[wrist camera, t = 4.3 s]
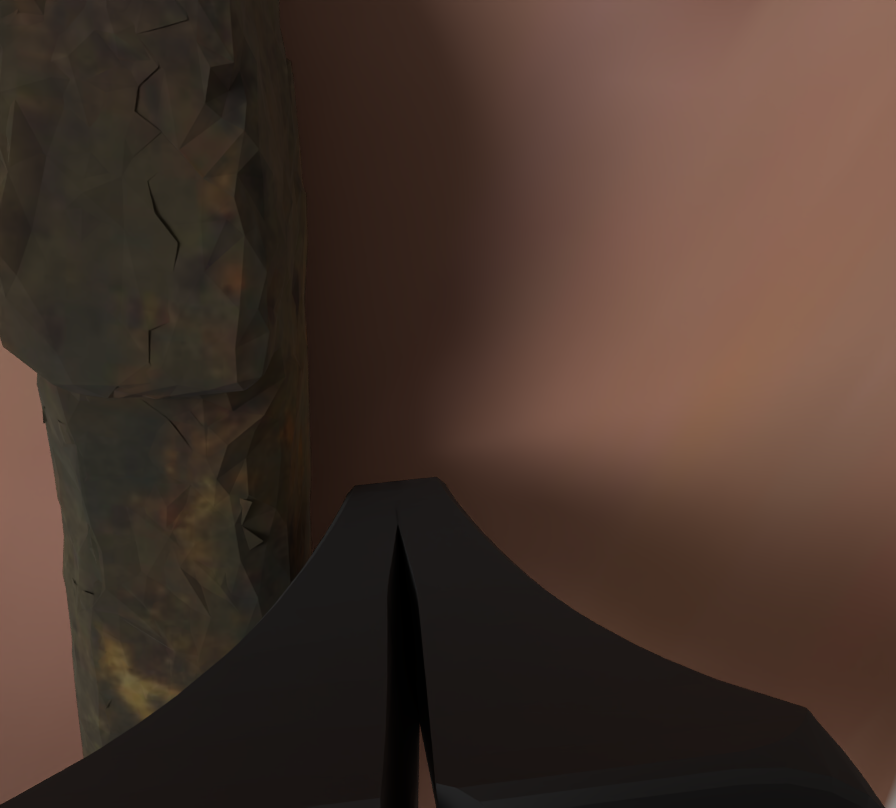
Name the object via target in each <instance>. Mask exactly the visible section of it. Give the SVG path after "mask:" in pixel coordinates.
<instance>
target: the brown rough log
mask: <svg viewBox="0 0 896 808" xmlns="http://www.w3.org/2000/svg"><path fill="white" fill-rule="evenodd" d="M307 245H308V240H307V200H306V193H305V190H304V188H303V181H302V167H301V153H300V141H299V131H298V120H297V110H296V99H295V89H294V80H293V73H292V67H291V62H290V61H289V60H288V59H287V58H286V56H285V49H284V44H283V39H282V34H281V30H280V18H279V0H0V338H1V341H2V345H3V347H4V348H6V349H7V350H8V351H10V352H11V353H12V354H13V355H15V356H16V357H17V358H19V359H20V360H21V361H23V362H24V363H25V364H26V365H28V366H29V367H30V368H32V369H33V370H34V371H36V372H37V387H38V391H39V396H40V400H41V404H42V409H43V423H46V429H47V435H48V440H49V446H50V451H51V457H52V463H53V469H54V476H55V483H56V490H57V497H58V500H59V503H60V505H61V513H62V522H63V531H64V550H63V577H64V582H65V586H66V593H67V601H68V609H69V618H70V626H71V635H72V657H73V668H74V679H75V689H76V698H77V707H78V716H79V724H80V732H81V740H82V748H83V756H84V758H85V757H87V756H88V755H90V754H92V753H93V752H95V751H97V750H98V749H100V748H101V747H103V746H105V745H106V744H108V743H109V742H111V741H112V740H114V739H115V738H117V737H118V736H120V735H121V734H123V733H124V732H126V731H127V730H129V729H130V728H132V727H133V726H135V725H136V724H138V723H139V722H141V721H142V720H144V719H145V718H146V717H148V716H149V715H151V714H152V713H153V712H155V711H156V710H158V709H159V708H160V707H162V706H163V705H165V704H166V703H167V702H169V701H170V700H171V699H173V698H174V697H175V696H177V695H178V694H179V693H180V692H182V691H183V690H184V689H185V688H186V687H188V686H189V685H190V684H191V683H192V682H194V681H195V680H196V679H197V678H198V677H200V676H201V675H202V674H203V673H204V672H206V671H207V670H208V669H209V668H210V667H212V666H213V665H214V664H215V663H216V662H218V661H219V660H220V659H221V658H223V657H224V656H225V655H226V654H227V653H228V652H229V651H230V650H231V649H233V648H234V647H235V646H236V645H237V644H238V643H239V642H240V641H241V640H242V639H243V638H244V637H245V636H246V635H247V634H248V633H249V632H250V631H251V630H252V629H253V628H254V627H255V626H256V624H257V623H258V622H259V621H260V620H261V619H262V618H263V617H264V616H265V614H266V613H267V612H268V611H269V610H270V609H271V608H272V606H273V605H274V604H275V603H276V601H277V600H278V599H279V598H280V596H281V595H282V594H283V593H284V591H285V590H286V589H287V588H288V586H289V585H290V584H291V582H292V581H293V580H294V579H295V577H296V576H297V575H298V574H299V572H300V571H301V570H302V568H303V567H304V565H305V564H306V562H307V561H308V559H309V558H310V556H311V555H312V550H311V523H310V492H311V454H310V418H309V388H308V352H307V351H308V346H307V331H306V317H305V304H304V298H305V281H306V263H307Z"/></svg>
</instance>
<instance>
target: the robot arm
mask: <svg viewBox="0 0 896 808" xmlns="http://www.w3.org/2000/svg"><path fill="white" fill-rule="evenodd" d="M420 726H421V731H422V736H423V742H424V747H425V752H426V757H427V762H428V767H429V772H430V777H431V782H432V788H433V793H434V798H435V803H436V808H885V807H884V806H883V804H882V803H881V801H880V800H879V799H878V797H877V796H876V794H875V793H874V791H873V790H872V788H871V787H870V785H869V784H868V783H867V781H866V780H865V778H864V777H863V776H862V774H861V773H860V772H859V770H858V769H857V768H856V767H855V765H854V764H853V763H852V761H851V760H850V759H849V757H848V756H847V755H846V753H845V752H844V751H843V750H842V749H841V747H840V746H839V745H838V744H837V743H836V742H835V741H834V740H833V738H832V737H831V736H830V735H829V734H828V733H827V732H826V730H825V729H824V728H823V727H822V726H821V725H820V724H819V723H818V721H817V720H816V719H815V717H814V716H813V715H812V713H811V712H810V711H809V710H808V709H807V708H805V707H802V706H799V705H796V704H793V703H789V702H786V701H783V700H780V699H777V698H773V697H770V696H767V695H764V694H761V693H758V692H754V691H751V690H748V689H745V688H742V687H739V686H735V685H732V684H729V683H726V682H723V681H720V680H717V679H714V678H712V677H709V676H706V675H704V674H702V673H699V672H697V671H694V670H692V669H689V668H687V667H684V666H682V665H680V664H677V663H675V662H672V661H670V660H667V659H665V658H663V657H661V656H659V655H656V654H654V653H652V652H650V651H648V650H646V649H644V648H641V647H639V646H637V645H635V644H633V643H631V642H629V641H628V640H626V639H624V638H622V637H620V636H618V635H617V634H615V633H613V632H611V631H609V630H607V629H605V628H604V627H602V626H600V625H598V624H596V623H595V622H593V621H591V620H590V619H588V618H586V617H585V616H583V615H581V614H580V613H578V612H576V611H575V610H573V609H572V608H571V607H569V606H568V605H566V604H565V603H563V602H562V601H560V600H559V599H557V598H556V597H555V596H553V595H552V594H550V593H549V592H548V591H546V590H545V589H544V588H542V587H541V586H540V585H539V584H537V583H536V582H535V581H534V580H533V579H531V578H530V577H529V576H528V575H527V574H526V573H525V572H523V571H522V570H521V569H520V568H519V567H518V566H517V565H515V564H514V563H513V562H512V561H511V560H510V559H509V558H508V557H507V556H506V555H505V554H504V553H503V552H502V551H501V550H500V549H499V548H498V547H497V546H496V545H495V544H494V543H493V542H492V541H491V540H490V539H489V538H488V537H487V536H486V535H485V534H484V533H483V532H482V531H481V530H480V529H479V527H478V526H477V525H476V524H475V523H474V522H473V521H472V520H471V518H470V517H469V516H468V515H467V513H466V512H465V511H464V510H463V509H462V507H461V506H460V505H459V504H458V502H457V501H456V500H455V498H454V497H453V495H452V494H451V492H450V491H449V489H448V488H447V486H446V484H445V483H444V482H442V481H441V480H440V479H439V478H437V477H431V478H422V479H412V480H403V481H394V482H384V483H375V484H366V485H356V486H354V487H353V488H352V490H351V491H350V492H349V493H348V494H347V496H346V498H345V500H344V502H343V504H342V506H341V508H340V510H339V512H338V514H337V515H336V517H335V519H334V521H333V522H332V524H331V526H330V527H329V529H328V531H327V532H326V534H325V536H324V537H323V539H322V540H321V542H320V543H319V545H318V546H317V548H316V549H315V551H314V552H313V554H312V555H311V556H310V558H309V559H308V561H307V562H306V564H305V565H304V567H303V568H302V570H301V571H300V572H299V574H298V575H297V576H296V577H295V579H294V580H293V581H292V582H291V584H290V585H289V586H288V588H287V589H286V590H285V591H284V593H283V594H282V595H281V596H280V598H279V599H278V600H277V601H276V603H275V604H274V605H273V606H272V608H271V609H270V610H269V611H268V612H267V613H266V614H265V616H264V617H263V618H262V619H261V620H260V621H259V622H258V623H257V624H256V626H255V627H254V628H253V629H252V630H251V631H250V632H249V633H248V634H247V635H246V636H245V637H244V638H243V639H242V640H241V641H240V642H239V643H238V644H237V645H236V646H235V647H234V648H233V649H231V650H230V651H229V652H228V653H227V654H226V655H225V656H224V657H223V658H221V659H220V660H219V661H218V662H216V663H215V664H214V665H213V666H212V667H210V668H209V669H208V670H207V671H206V672H204V673H203V674H202V675H201V676H200V677H198V678H197V679H196V680H195V681H194V682H192V683H191V684H190V685H189V686H188V687H186V688H185V689H184V690H183V691H182V692H180V693H179V694H178V695H177V696H175V697H174V698H173V699H171V700H170V701H169V702H167V703H166V704H165V705H163V706H162V707H160V708H159V709H158V710H156V711H155V712H153V713H152V714H151V715H149V716H148V717H146V718H145V719H144V720H142V721H141V722H139V723H138V724H136V725H135V726H133V727H132V728H130V729H129V730H127V731H126V732H124V733H123V734H121V735H120V736H118V737H117V738H115V739H114V740H112V741H111V742H109V743H108V744H106V745H105V746H103V747H101V748H100V749H98V750H97V751H95V752H93V753H92V754H90V755H88V756H87V757H85V758H84V759H82V760H80V761H78V762H77V763H75V764H73V765H71V766H69V767H68V768H66V769H64V770H62V771H61V772H59V773H57V774H55V775H53V776H52V777H50V778H48V779H46V780H44V781H43V782H41V783H39V784H37V785H36V786H34V787H32V788H30V789H28V790H27V791H25V792H23V793H21V794H19V795H18V796H16V797H14V798H12V799H11V800H9V801H7V802H5V803H3V804H1V805H0V808H418V780H419V727H420Z"/></svg>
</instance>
